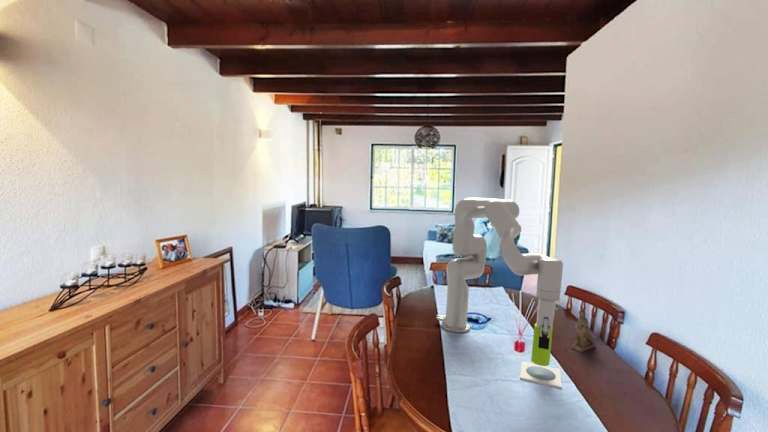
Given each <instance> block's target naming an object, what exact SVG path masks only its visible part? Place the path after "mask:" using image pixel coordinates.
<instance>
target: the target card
mask: <svg viewBox="0 0 768 432" xmlns="http://www.w3.org/2000/svg"><path fill="white" fill-rule="evenodd" d="M520 366H521V367H520V375H519V380H522V381H525V382H526V381H527V382H531V383H535V384H540V385H542V386H543V385H544V386H549V387H551V388H552V387H553V388H557V389H561V390H562V389H563V386H562V385H563V384H562V373H561V368H556V367H551V366H540V365H537V364H535V363H533V362H528V361H524V360H522V361H521V365H520Z"/></svg>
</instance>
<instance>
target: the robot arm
mask: <svg viewBox="0 0 768 432" xmlns="http://www.w3.org/2000/svg"><path fill="white" fill-rule="evenodd" d="M519 215H520V207H519V204H517V202H516V201H515V200H512V199H501V198H492V197H491V198H490V197H466V198H463V199H461V200H459V201H458V203H457V204H456V206H455V208H454V231H453V238H452V239H453V240H452V252H453V254H454V255H456V256H458V258H454V259H451V260H449V262H448V263H447V264H446V270H445V271H446V278H447V286H446V287H447V289H446V290H447V291H446V305H445V306H446V307H445V314H444V315H441V314H436V317H435V319H437V321H440V322H441V328H443V329H444V330H446V331H448V332H451V333H467V332H469V331H470V330H471V326H470V324H468V323H467V322H468V309H469V296H470V295H469V294H470V289H469V285H468V283H467V281H466V280H471V279H472V280H473V279H477V278H480V277H481V276H482V275H483V274H484V271H485V266H486V259H487V252H488V251H487V250H488V249H487V248H488V245H487V244H488V243H487V240H486V238H485V237H484V236H483V235H481V234H479V233H475V222H474V220H473V219H488V220H489V223H490V224H491V226H492V227H493V228H494V230H495V231H496V232H497V233H496V234H498V236H499V239H500V241H499V242H500V243H499V246H500V254H501V256H502V259H503V260H504V262H505V263H506V264H505V265H507V267H508V268H509V270H510V271H511V272H512V273H513V274H515V275H516V276H522V277H523V276H529V275H531V276H532V275H537V281H536V282H537V283H536V289H535V291H536V292H535V297H536V298H537V299H538V302H537V310H536V311H537V312H536V313H537V314H536V323H537V324H536V326H537V328H538V327H541V332H540V336H539V345H538V347H539V348H542V349H549V339H550V338H549V331H550V330H551V329H552V327H553V325H554V320H555V318H554V317H555V312H556V310H555V307H556V302H559V301H560V300H561V299H560V298H561V292H562V291H561V290H562V289H561V288H562V279H563V271H564V270H563V267H564V263H563V261H562V259H559V258H557V257H549V256H548V255H545V254H542V253H539V252H532V253H531V252H530V253H529V252H528V253H521V251H520V250H519V249H518V247H517V245H516V244H515V240H514V239H515V238H517V236H519V235H520V233H521V232H522V226H521V224H520V223H519V222H518V221H517V218H518V216H519ZM542 326H544V328H542ZM548 326H549V327H548ZM542 329H543V331H542ZM547 330H548V332H547Z"/></svg>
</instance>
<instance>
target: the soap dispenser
mask: <svg viewBox="0 0 768 432" xmlns="http://www.w3.org/2000/svg"><path fill="white" fill-rule="evenodd" d="M557 311H559V308H557V307H556V306H555V312H557ZM536 324H537V322H536V323H534V327H533V338H532V347H531V357H530V358H531V359H530V361H531V363H533V364H537V365H540V366H547V367H549V365H550V361H551V351H552V340H553V330H554V327H553V326H552V329H551V330H550V331H549V338H550V339H549V349H542V348H539V347H538V345H539V336H540V332H541V327H538V328H537V326H536ZM548 327H549V326H548ZM542 328H544V326H542ZM542 331H543V329H542ZM547 332H548V330H547Z"/></svg>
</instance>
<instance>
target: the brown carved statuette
mask: <svg viewBox="0 0 768 432" xmlns="http://www.w3.org/2000/svg"><path fill="white" fill-rule="evenodd" d="M578 314H579V317H578V320H577V323H576V324H575V325H574V329H573V330H574V337H575V340H574V341H575V342H574V343H573V344H571V345H570V349H572V350H575V351H578V352H580V353H582V352H584V351H587V350H590V349H593V348H594V347H596V342H595V341H594V339H593V336H592V334H591V331H590V327H589V320H588V319H587V317H586V312H585V311H584V310H579V311H578Z"/></svg>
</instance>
